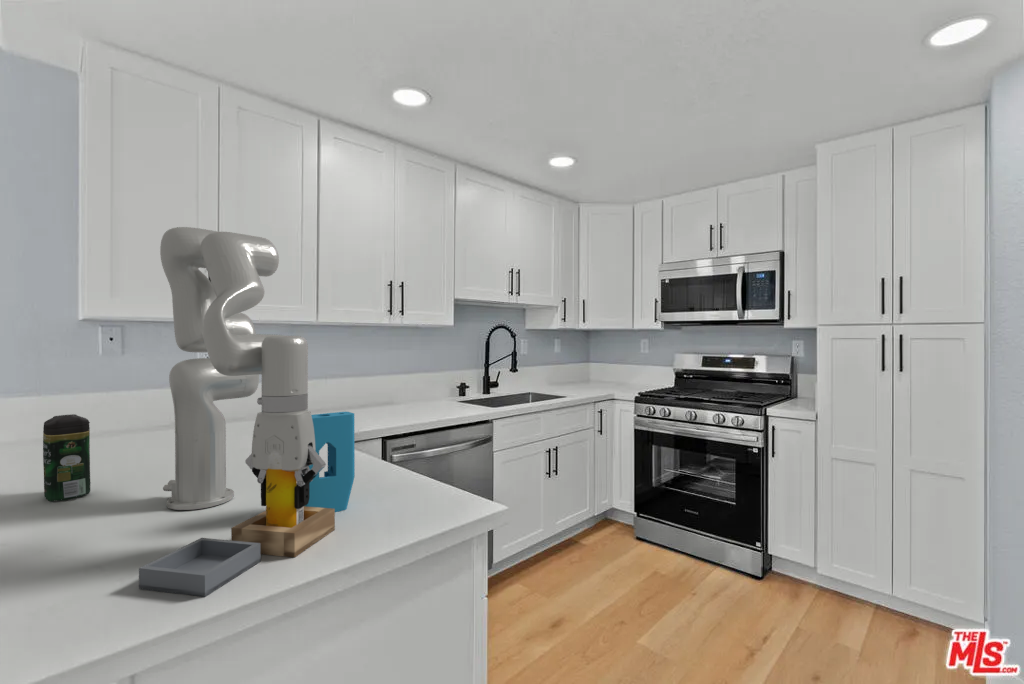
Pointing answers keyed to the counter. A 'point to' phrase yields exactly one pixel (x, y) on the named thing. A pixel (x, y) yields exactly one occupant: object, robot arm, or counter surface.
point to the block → (334, 460)
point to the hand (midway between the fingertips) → (285, 504)
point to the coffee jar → (66, 457)
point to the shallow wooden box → (286, 532)
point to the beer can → (281, 495)
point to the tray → (199, 567)
